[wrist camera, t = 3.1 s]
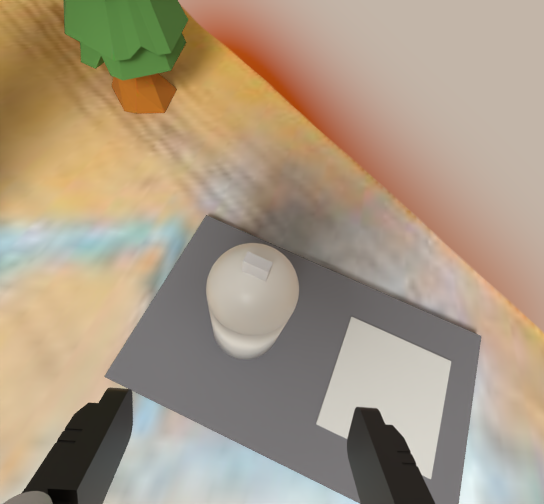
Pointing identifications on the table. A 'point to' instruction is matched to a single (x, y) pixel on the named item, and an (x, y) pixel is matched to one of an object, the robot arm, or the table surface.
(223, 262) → the white rounded cylinder
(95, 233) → the table surface
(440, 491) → the mat
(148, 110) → the decorative tree
